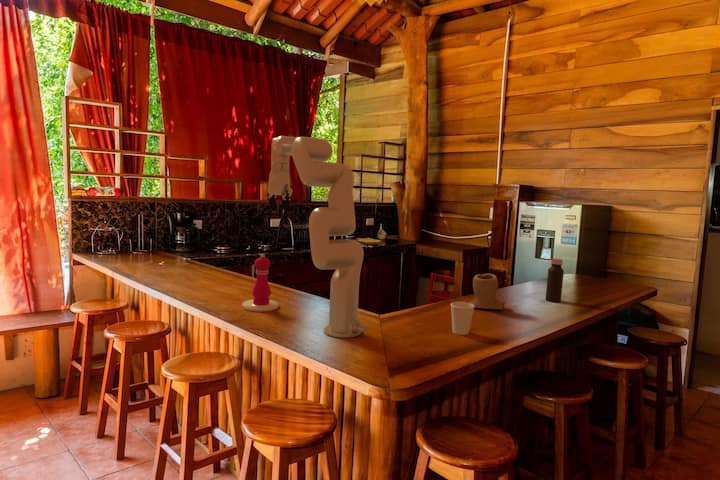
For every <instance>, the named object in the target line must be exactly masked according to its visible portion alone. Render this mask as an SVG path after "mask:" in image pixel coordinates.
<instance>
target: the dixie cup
mask: <svg viewBox="0 0 720 480" xmlns="http://www.w3.org/2000/svg"><path fill="white" fill-rule="evenodd" d="M450 308H451V310H450V311H451V328H452V333H453V334H455V335H460V336H467V335H469V334H470V329H471V324H472V319H473V315H474V309H475V306H474V305H473V304H470V303H469V302H464V301H453V302H451V303H450Z"/></svg>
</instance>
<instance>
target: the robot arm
mask: <svg viewBox="0 0 720 480" xmlns="http://www.w3.org/2000/svg"><path fill="white" fill-rule="evenodd" d="M333 150H334V149H333V146H332V144H331V143H330V142H329V141H327V140H326V139H324V138H318V137H309V136H296V137H295V136H288V135H287V136H286V135H280V136H277V137H273V138H272V140H271V150H270V151H271V156H270V161H271V163H270V172H269V177H268V186H267V188H266V191H267V196H268V197H267V198H268V209H277V198H276V197H277V196H281V197H282V200H281V202H282V203H281V205H282V206H281V209H282V211H289V210H290V201H291V198H292V196H293V188H291V178H290V157H291V156H292V159H293V163H294V166H295V168H296V171H297V174H298V176H299V179H300V182H301V183H302V184H304V185H305V186H307V187H320V188H326V187H327V188H329V191H328V193H327V203H328V205H327V206H328V207H327V206H320V207H316V208H314V209H313V210H312V212H311V213H310V215H309V219H308V231H309V240H310V243H309V244H310V252H311V258H312V259H311V260H312V263H313V264H314V266H315V268H317V269H319V270H323V271H324V270H335V271H334V272H333V274H332V276H331V280H330V293H329V296H330V297H329V312H328V313H329V314H328V315H329V317H328V319H329V320H328V325H326V326H325V327H324V328H323V332H324V334H325V335H327V336H330V337H333V338H341V339H342V338H343V339H344V338H347V339H348V338H356V337H358V336H360V335H361V334H365V333H366V332H367V327H368V326H367V325H364V324H361V319H358V313H359V312H358V311H359V310H358V308H359V292H360V290H359V289H360V288H359V287H360V278H361V269H362V264H363V261H364V257H365V256H364V248H363V246H362V244H361V243H360V242H359V241H357V240H355V239H349V238H348V239H330V237H339V236H341V237H342V236H343V237H344V236H349V235H352V234H354V232H355V231H356V212H355V204H354V196H353V195H354V194H353V193H354V182H355V178H354V177H355V176H354V171H353V170H352V168H351V167H350V166H349V165H348V164H344V163H339V162H330V161H329V160H330V158H332V155H333ZM328 161H329V162H328Z"/></svg>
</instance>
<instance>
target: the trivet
mask: <svg viewBox="0 0 720 480" xmlns="http://www.w3.org/2000/svg"><path fill="white" fill-rule="evenodd" d="M241 304H242V305H241V308H242V309H243V310H245V311H249V312H257V313H258V312H259V313H262V312H272V311H275V310H278V308H279V302H278V301H276V300H273V299H269V304H268V305H255V304H253V299H248V300H244V301H243V302H242V303H241Z"/></svg>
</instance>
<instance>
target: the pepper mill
mask: <svg viewBox="0 0 720 480" xmlns="http://www.w3.org/2000/svg"><path fill="white" fill-rule="evenodd" d="M259 256H260V257H258V258H256V259H255V261H254V267H255V274H256V280H255V283H254V286H253V288H252V292H251V293H252V296H253V299H252V300H253V304H255V305H268V304H269V300H270V298H269V297H270V296H271V295H272V292H271V290H272V289H271V287H270V284H269V281H268V274H269V268H271V267H270V266H271V262H270V260H269V259H268V258H267V257H266V255H265V253H260V255H259Z"/></svg>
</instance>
